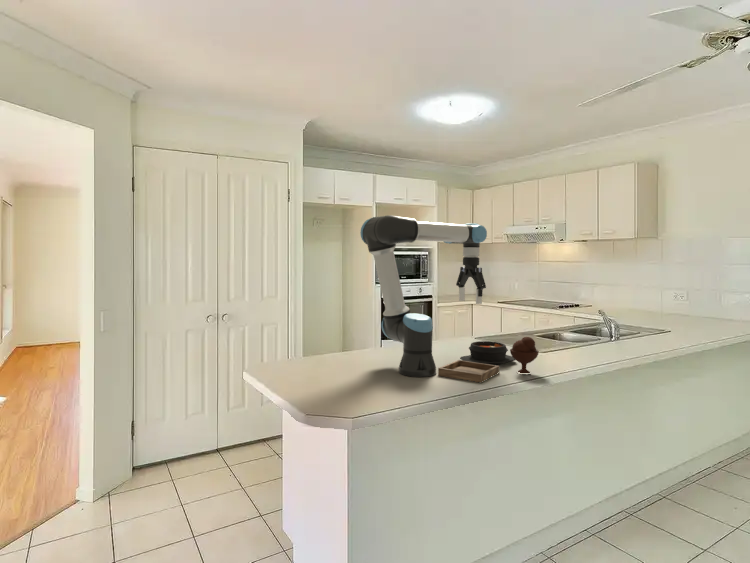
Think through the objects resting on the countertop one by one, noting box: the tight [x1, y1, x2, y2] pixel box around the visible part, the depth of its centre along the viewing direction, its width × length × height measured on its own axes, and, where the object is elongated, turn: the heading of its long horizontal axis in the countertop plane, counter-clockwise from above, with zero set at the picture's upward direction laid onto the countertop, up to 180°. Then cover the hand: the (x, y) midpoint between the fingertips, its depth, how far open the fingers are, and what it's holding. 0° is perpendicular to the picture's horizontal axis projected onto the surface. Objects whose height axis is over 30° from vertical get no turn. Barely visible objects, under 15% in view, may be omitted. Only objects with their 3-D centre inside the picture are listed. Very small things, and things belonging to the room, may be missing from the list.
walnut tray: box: [437, 359, 500, 383], centre depth 189 cm, size 18×18×3 cm
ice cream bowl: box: [509, 336, 540, 373], centre depth 191 cm, size 11×11×15 cm
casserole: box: [459, 340, 516, 366], centre depth 210 cm, size 25×19×8 cm
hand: (470, 302), depth 221 cm, fingers open, 13 cm apart
